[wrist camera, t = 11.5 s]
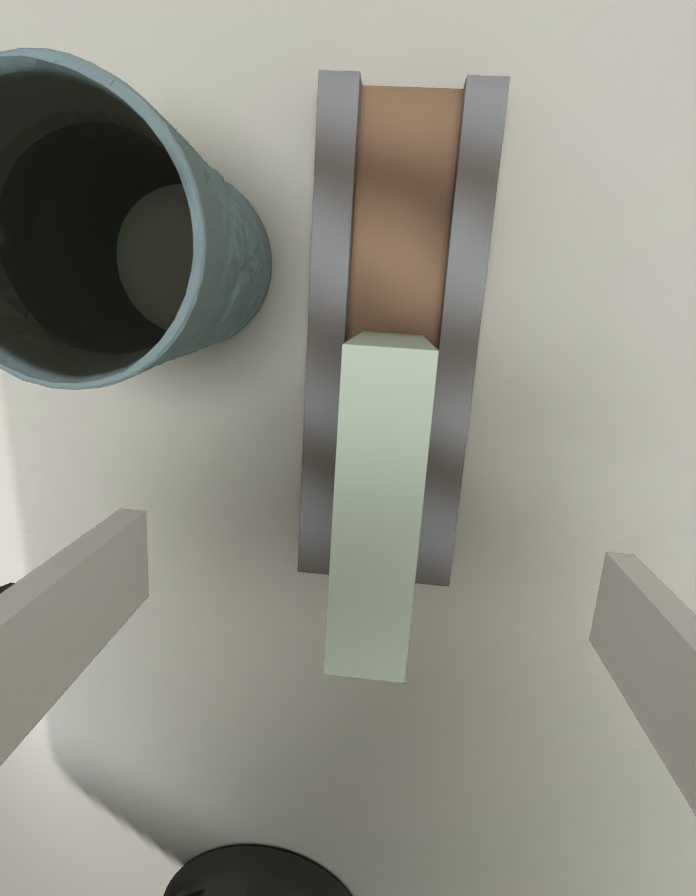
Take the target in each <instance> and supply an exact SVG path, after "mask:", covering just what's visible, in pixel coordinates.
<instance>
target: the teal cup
mask: <svg viewBox="0 0 696 896" xmlns="http://www.w3.org/2000/svg"><path fill="white" fill-rule="evenodd" d="M270 275H271V253H270V248H269V243H268V238H267V235H266V232H265V229H264V227H263V224H262V222H261V220H260V218H259V217H258V215H257V213H256V212H255V210H254V208H253V207H252V206H251V204H250V203H249V202H248V201H247V200H246V199H245V198H244V197H243V196H242V195H241V193H240V192H239V191H238V190H237V189H235V188H234V187H233V186H232V185H230V184H229V183H227V182H226V181H224V179H223V177H222V176H221V175H220V174H219V173H218V172H217V171H216V170H214V169H213V168H212V167H210V166H209V165H208V164H207V163H206V162H205V161H204V160H203V159H202V158H201V156H200V155H199V154H198V153H197V152H196V151H195V150H194V148H193V147H192V146H191V145H190V144H189V143H188V142H187V141H186V140H185V139H184V138H183V137H182V136H181V135H180V134H179V133H178V132H177V131H176V130H175V128H174V127H173V126H172V125H171V124H170V123H169V122H168V121H167V120H166V119H165V118H164V117H163V116H161V115H160V114H159V113H158V112H157V111H156V110H155V109H154V108H153V107H152V106H151V105H150V104H149V103H148V102H147V101H146V100H145V99H144V98H143V97H142V96H141V95H140V94H139V93H137V92H136V91H135V90H134V89H133V88H132V87H130V86H129V85H128V84H127V83H125V82H124V81H122V80H121V79H119V78H118V77H116V76H115V75H113V74H111V73H109V72H107V71H106V70H104V69H102V68H100V67H99V66H97V65H95V64H93V63H91V62H89V61H86V60H84V59H82V58H79V57H77V56H74V55H72V54H69V53H65V52H61V51H56V50H52V49H47V48H18V49H12V50H7V51H1V52H0V368H1V369H2V370H4V371H6V372H8V373H10V374H12V375H13V376H15V377H17V378H19V379H21V380H24V381H27V382H31V383H35V384H39V385H42V386H46V387H50V388H56V389H71V390H78V389H91V388H100V387H104V386H109V385H113V384H116V383H119V382H121V381H124V380H126V379H129V378H131V377H133V376H135V375H138V374H140V373H142V372H144V371H146V370H148V369H150V368H152V367H154V366H156V365H160V364H162V363H164V362H166V361H169V360H173V359H176V358H178V357H181V356H183V355H186V354H189V353H192V352H194V351H196V350H198V349H200V348H204V347H206V346H208V345H211V344H214V343H217V342H219V341H222V340H224V339H226V338H228V337H230V336H232V335H234V334H236V333H237V332H238V331H240V330H241V329H242V328H243V327H245V326H246V325H247V324H248V323H249V321H250V320H251V319H252V318H253V317H254V316H255V314H256V313H257V311H258V310H259V308H260V306H261V304H262V302H263V300H264V298H265V296H266V292H267V289H268V286H269V281H270Z"/></svg>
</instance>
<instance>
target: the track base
mask: <svg viewBox="0 0 696 896" xmlns="http://www.w3.org/2000/svg"><path fill="white" fill-rule="evenodd" d="M509 82H510V76H480V75H467V78H466V81H465V84H464V88H463V89H449V88H420V87H392V86H363V85H362V82H361V75H360V72H359V71H329V70H319V75H318V99H317V123H316V147H315V171H314V195H313V219H312V243H311V267H310V291H309V315H308V339H307V363H306V387H305V411H304V434H303V458H302V482H301V506H300V530H299V554H298V572H307V573H317V574H327V575H329V567H330V550H331V533H332V515H333V498H334V481H335V463H336V446H337V429H338V411H339V394H340V377H341V359H342V344H343V343H345V342H347V341H348V340H350V339H351V338H353V337H355V336H356V335H358V334H360V333H361V332H363V331H369V332H384V333H399V334H414V335H423V336H424V337H425V338H426V339H427V340H428V341H429V342H430V343H431V344H432V345H433V346H434V347H435V348H436V349H438V350H439V354H438V363H437V373H436V383H435V393H434V402H433V412H432V422H431V432H430V442H429V451H428V461H427V471H426V481H425V490H424V500H423V510H422V520H421V530H420V539H419V549H418V559H417V569H416V578H415V583H419V584H429V585H440V586H449V582H450V573H451V565H452V557H453V548H454V540H455V532H456V523H457V515H458V507H459V498H460V490H461V482H462V473H463V465H464V457H465V448H466V440H467V432H468V423H469V415H470V407H471V398H472V390H473V382H474V373H475V365H476V357H477V348H478V340H479V332H480V323H481V315H482V307H483V298H484V290H485V282H486V273H487V265H488V257H489V248H490V240H491V232H492V223H493V215H494V207H495V198H496V190H497V182H498V173H499V165H500V157H501V148H502V140H503V132H504V123H505V115H506V107H507V98H508V90H509Z"/></svg>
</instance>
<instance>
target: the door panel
mask: <svg viewBox="0 0 696 896" xmlns="http://www.w3.org/2000/svg"><path fill="white" fill-rule="evenodd" d="M438 354H439V350H438V349H436V348H435V347H434V346H433V345H432V344H431V343H430V342H429V341H428V340H427V339H426V338H425V337H424V336H423V335H414V334H399V333H384V332H369V331H363V332H361V333H360V334H358V335H356V336H355V337H353V338H351V339H350V340H348V341H347V342H345V343H343V344H342V359H341V377H340V394H339V411H338V429H337V446H336V463H335V481H334V498H333V515H332V533H331V550H330V567H329V584H328V602H327V619H326V636H325V654H324V671H323V674H326V675H335V676H345V677H354V678H363V679H372V680H381V681H390V682H399V683H405V676H406V666H407V657H408V647H409V637H410V627H411V618H412V608H413V598H414V588H415V578H416V569H417V559H418V549H419V539H420V530H421V520H422V510H423V500H424V490H425V481H426V471H427V461H428V451H429V442H430V432H431V422H432V412H433V402H434V393H435V383H436V373H437V363H438Z"/></svg>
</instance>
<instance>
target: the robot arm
mask: <svg viewBox="0 0 696 896" xmlns="http://www.w3.org/2000/svg"><path fill="white" fill-rule="evenodd" d="M148 596H149V590H148V556H147V523H146V511H142V510H131V509H120V510H118V511H117V512H115V513H114V514H112V515H111V516H110V517H108V518H107V519H105V520H104V521H103V522H101V523H100V524H98V525H97V526H96V527H94V528H93V529H91V530H90V531H88V532H87V533H86V534H84V535H83V536H81V537H80V538H79V539H77V540H76V541H74V542H73V543H71V544H70V545H69V546H67V547H66V548H64V549H63V550H62V551H60V552H59V553H57V554H56V555H55V556H53V557H52V558H50V559H49V560H47V561H46V562H45V563H43V564H42V565H40V566H39V567H38V568H36V569H35V570H33V571H32V572H30V573H29V574H28V575H26V576H25V577H23V578H22V579H21V580H19V581H18V582H16V583H9V584H7V585H4V586H1V587H0V766H1V764H2V763H3V762H4V761H5V760H6V759H7V758H8V756H9V755H10V754H11V753H12V752H13V751H14V750H15V749H16V747H17V746H18V745H19V744H20V743H21V742H22V740H23V739H24V738H25V737H26V736H27V735H28V734H29V732H30V731H31V730H32V729H33V728H34V727H35V726H36V724H37V723H38V722H39V721H40V720H41V719H42V718H43V716H44V715H45V714H46V713H47V712H48V711H49V710H50V708H51V707H52V706H53V705H54V704H55V703H56V702H57V700H58V699H59V698H60V697H61V696H62V695H63V694H64V692H65V691H66V690H67V689H68V688H69V687H70V685H71V684H72V683H73V682H74V681H75V680H76V679H77V677H78V676H79V675H80V674H81V673H82V672H83V671H84V669H85V668H86V667H87V666H88V665H89V664H90V663H91V661H92V660H93V659H94V658H95V657H96V656H97V655H98V653H99V652H100V651H101V650H102V649H103V648H104V647H105V645H106V644H107V643H108V642H109V641H110V640H111V639H112V637H113V636H114V635H115V634H116V633H117V632H118V631H119V629H120V628H121V627H122V626H123V625H124V624H125V622H126V621H127V620H128V619H129V618H130V617H131V616H132V614H133V613H134V612H135V611H136V610H137V609H138V608H139V606H140V605H141V604H142V603H143V602H144V601H145V600H146V598H147V597H148ZM589 640H590V642H591V644H592V645H593V647H594V649H595V650H596V652H597V654H598V655H599V657H600V659H601V660H602V662H603V664H604V665H605V667H606V668H607V670H608V672H609V673H610V675H611V677H612V678H613V680H614V682H615V683H616V685H617V687H618V688H619V690H620V692H621V693H622V695H623V697H624V698H625V700H626V701H627V703H628V705H629V706H630V708H631V710H632V711H633V713H634V715H635V716H636V718H637V720H638V721H639V723H640V725H641V726H642V728H643V729H644V731H645V733H646V734H647V736H648V738H649V739H650V741H651V743H652V744H653V746H654V748H655V749H656V751H657V753H658V754H659V756H660V758H661V759H662V761H663V762H664V764H665V766H666V767H667V769H668V771H669V772H670V774H671V776H672V777H673V779H674V781H675V782H676V784H677V786H678V787H679V789H680V790H681V792H682V794H683V795H684V797H685V799H686V800H687V802H688V804H689V805H690V807H691V809H692V810H693V812H694V814H695V815H696V615H695V614H694V613H693V612H692V611H691V610H690V609H689V608H688V607H687V606H686V605H685V604H684V603H683V602H682V601H681V600H680V599H679V598H678V597H677V596H676V595H675V594H674V593H673V592H672V591H671V590H670V589H669V588H668V587H667V586H666V585H665V584H664V583H663V582H662V581H661V580H660V579H659V578H658V577H657V576H656V575H655V574H654V573H653V572H652V571H651V570H650V569H649V568H648V567H647V566H645V565H644V564H643V563H642V562H641V561H640V560H639V559H638V558H637V557H636V556H635V555H634V554H623V553H611V552H606V555H605V560H604V565H603V570H602V575H601V581H600V586H599V591H598V596H597V601H596V607H595V612H594V617H593V622H592V627H591V633H590V638H589ZM164 896H351V895H350V894H349V893H348V891H347V890H346V889H345V888H344V887H343V886H342V885H341V884H340V883H339V882H338V881H337V880H336V879H335V878H334V877H333V876H331V875H330V874H329V873H328V872H326V871H325V870H323V869H322V868H320V867H319V866H317V865H315V864H314V863H312V862H310V861H308V860H306V859H304V858H301V857H299V856H297V855H294V854H291V853H288V852H285V851H281V850H277V849H272V848H266V847H258V846H235V847H227V848H222V849H218V850H214V851H211V852H208V853H205V854H203V855H201V856H199V857H197V858H195V859H193V860H192V861H190V862H188V863H187V864H186V865H185V866H183V867H182V868H181V869H180V870H179V871H178V872H177V873H176V874H175V875H174V877H173V878H172V880H171V881H170V883H169V884H168V886H167V888H166V891H165V893H164Z"/></svg>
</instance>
